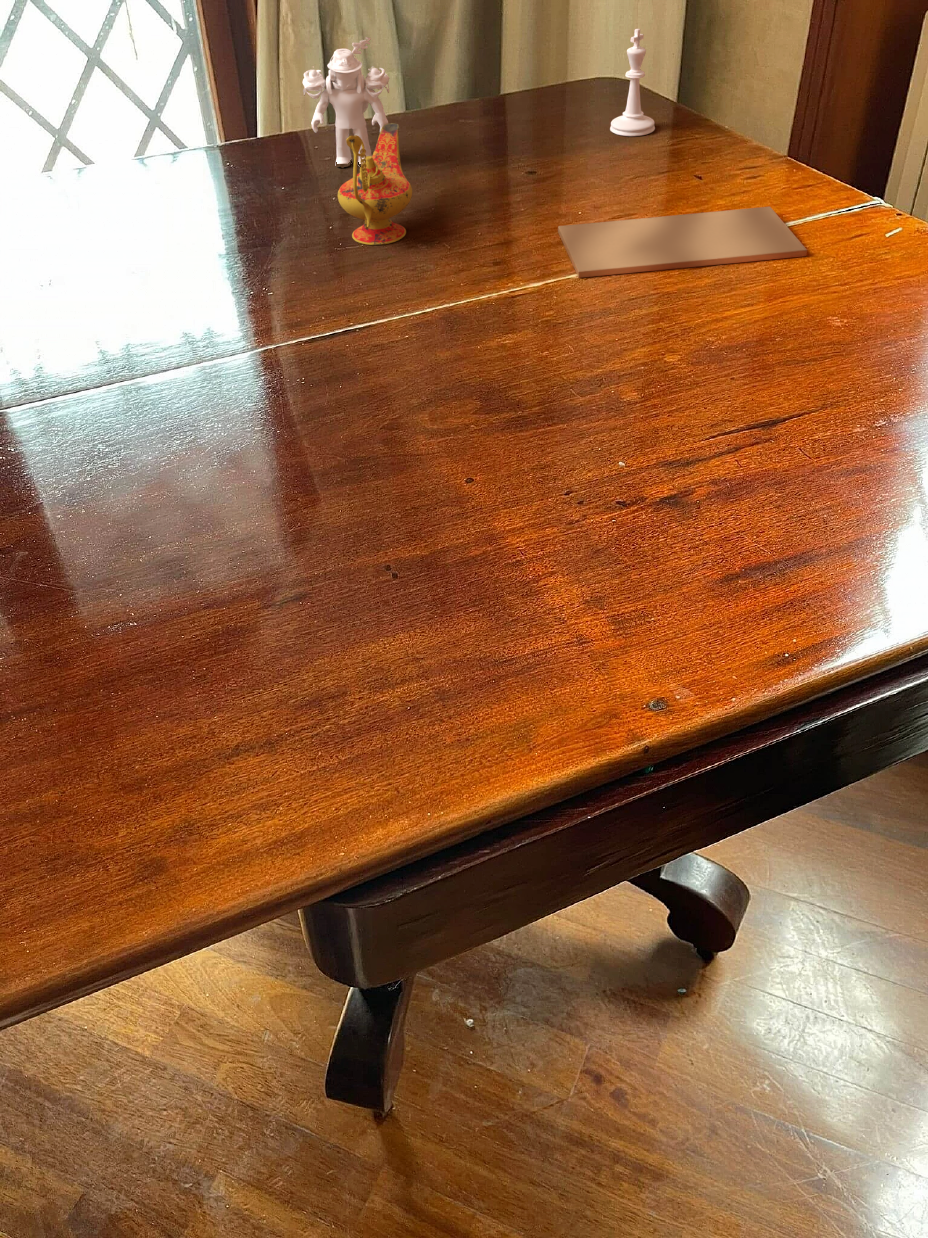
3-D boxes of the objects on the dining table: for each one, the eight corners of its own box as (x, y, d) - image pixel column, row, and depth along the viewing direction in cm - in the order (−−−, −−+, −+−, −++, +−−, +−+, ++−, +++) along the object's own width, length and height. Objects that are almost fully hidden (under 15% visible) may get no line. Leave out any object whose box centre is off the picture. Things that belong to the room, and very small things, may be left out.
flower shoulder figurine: (397, 155, 118) (387, 33, 110) (394, 168, 115) (382, 43, 107) (315, 157, 119) (299, 36, 111) (309, 170, 116) (292, 47, 108)
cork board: (769, 212, 102) (770, 206, 102) (806, 256, 95) (807, 249, 94) (557, 232, 101) (557, 225, 101) (578, 278, 94) (578, 271, 93)
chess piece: (663, 126, 121) (670, 27, 114) (636, 139, 118) (642, 38, 112) (628, 118, 124) (632, 20, 117) (600, 130, 121) (604, 31, 114)
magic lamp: (432, 191, 110) (424, 73, 103) (401, 267, 97) (390, 138, 90) (365, 191, 111) (353, 74, 104) (326, 266, 98) (308, 139, 90)
